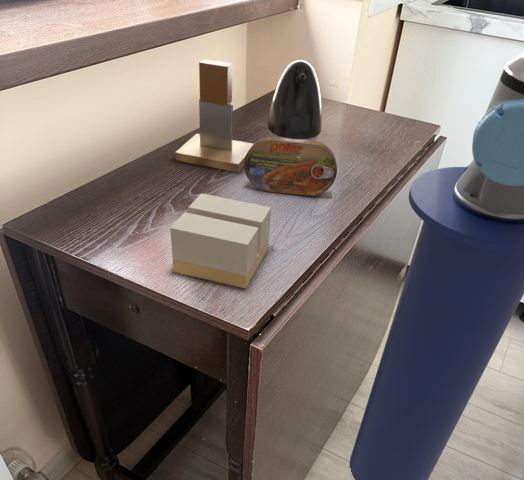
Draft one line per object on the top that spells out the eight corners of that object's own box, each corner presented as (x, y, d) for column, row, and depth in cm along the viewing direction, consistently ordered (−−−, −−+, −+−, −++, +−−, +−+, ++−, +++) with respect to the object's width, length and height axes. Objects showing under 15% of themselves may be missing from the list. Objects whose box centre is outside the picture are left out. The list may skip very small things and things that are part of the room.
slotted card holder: (268, 249, 72) (271, 207, 67) (245, 288, 65) (247, 244, 60) (202, 235, 73) (201, 193, 69) (173, 272, 66) (170, 227, 62)
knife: (233, 148, 93) (235, 63, 84) (229, 153, 91) (230, 67, 82) (203, 142, 94) (201, 58, 85) (198, 147, 93) (196, 62, 83)
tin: (242, 188, 85) (244, 138, 79) (245, 180, 87) (247, 130, 81) (332, 199, 84) (340, 149, 78) (333, 191, 86) (341, 141, 80)
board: (255, 151, 96) (255, 144, 95) (238, 172, 89) (238, 164, 88) (196, 141, 98) (196, 133, 97) (175, 160, 91) (174, 152, 90)
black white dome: (266, 157, 95) (273, 67, 84) (265, 136, 102) (271, 51, 92) (321, 160, 95) (333, 71, 85) (315, 139, 103) (326, 54, 92)
